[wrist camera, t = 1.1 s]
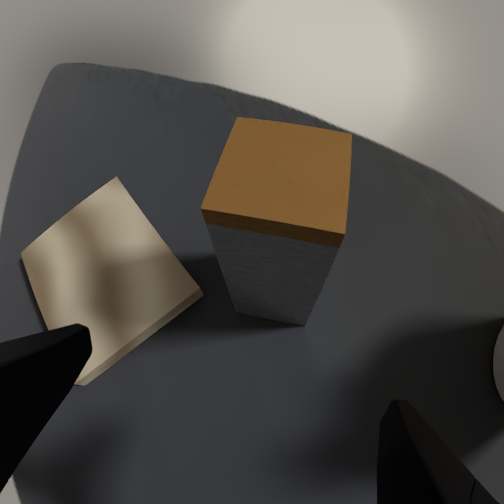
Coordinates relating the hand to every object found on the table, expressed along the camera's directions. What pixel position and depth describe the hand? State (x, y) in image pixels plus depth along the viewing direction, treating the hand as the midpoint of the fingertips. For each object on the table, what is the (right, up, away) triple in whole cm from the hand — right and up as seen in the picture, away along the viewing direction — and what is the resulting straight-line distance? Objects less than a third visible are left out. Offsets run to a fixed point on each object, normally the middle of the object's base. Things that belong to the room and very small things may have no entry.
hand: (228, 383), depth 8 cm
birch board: (-12, +1, +16) cm, 20 cm away
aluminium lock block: (+3, +1, +15) cm, 16 cm away
